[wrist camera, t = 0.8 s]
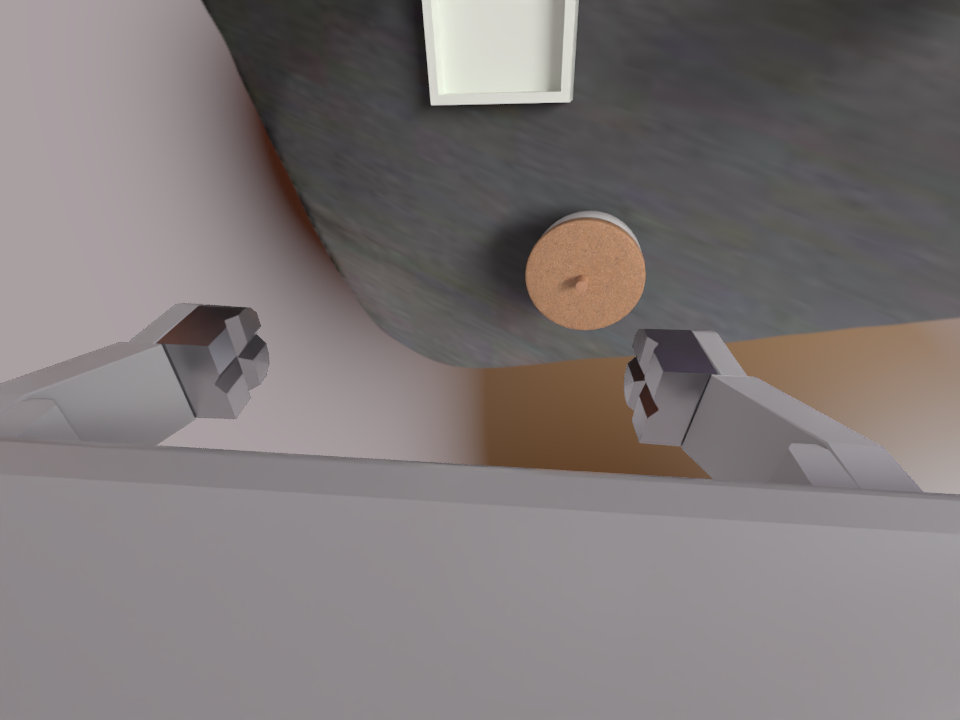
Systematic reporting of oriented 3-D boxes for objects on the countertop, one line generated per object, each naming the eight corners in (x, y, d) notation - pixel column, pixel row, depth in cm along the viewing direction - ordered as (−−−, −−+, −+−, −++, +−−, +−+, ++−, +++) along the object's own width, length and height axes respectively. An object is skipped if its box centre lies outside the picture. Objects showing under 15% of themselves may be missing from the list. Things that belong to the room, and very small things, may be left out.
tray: (426, -76, 37) (414, -83, 35) (584, -96, 34) (581, -105, 32) (439, 103, 44) (430, 105, 42) (572, 99, 41) (569, 102, 39)
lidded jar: (659, 209, 44) (665, 242, 36) (624, 307, 50) (623, 351, 42) (550, 186, 45) (534, 213, 38) (529, 284, 52) (512, 323, 44)
